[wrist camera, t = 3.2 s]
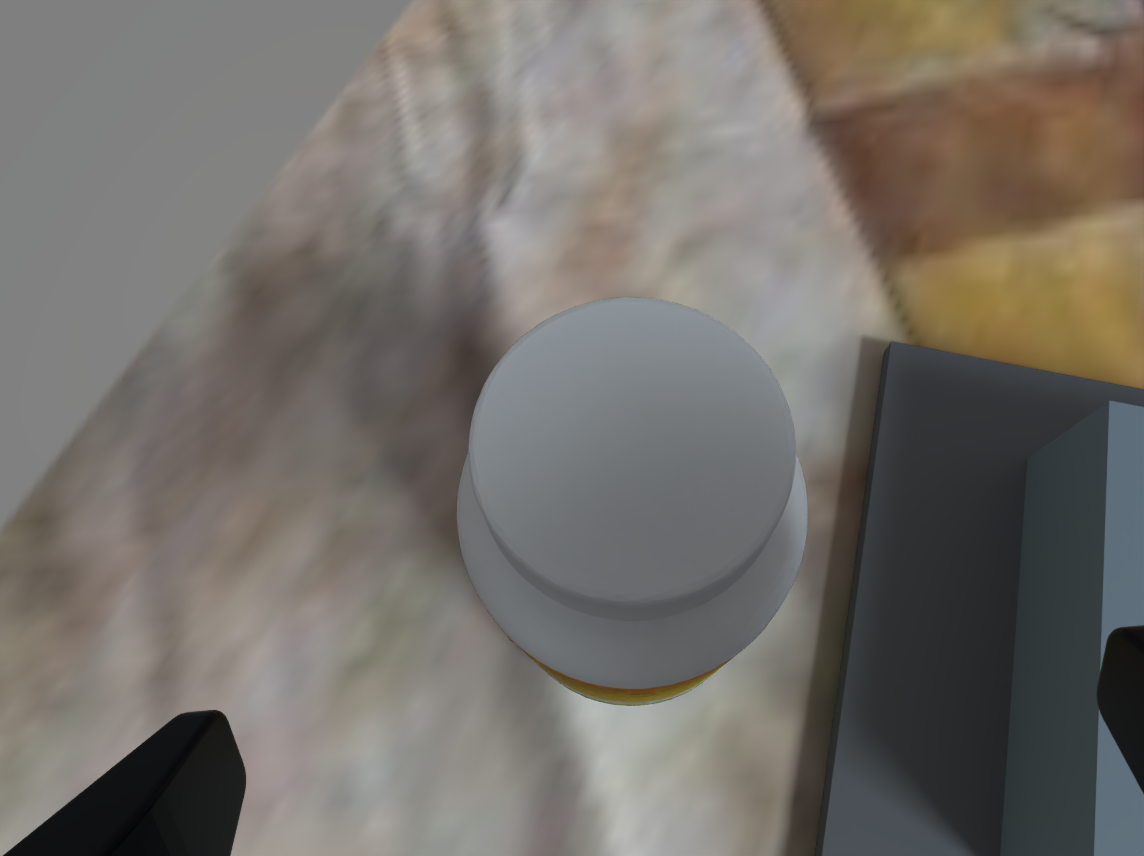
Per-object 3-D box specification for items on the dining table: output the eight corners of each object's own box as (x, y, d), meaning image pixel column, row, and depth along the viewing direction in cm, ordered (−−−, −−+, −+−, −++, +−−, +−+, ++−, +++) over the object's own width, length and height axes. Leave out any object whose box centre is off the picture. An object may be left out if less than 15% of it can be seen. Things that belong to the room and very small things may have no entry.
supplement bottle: (766, 694, 18) (911, 645, 9) (520, 719, 18) (415, 697, 9) (726, 460, 20) (811, 223, 11) (504, 484, 20) (403, 269, 11)
